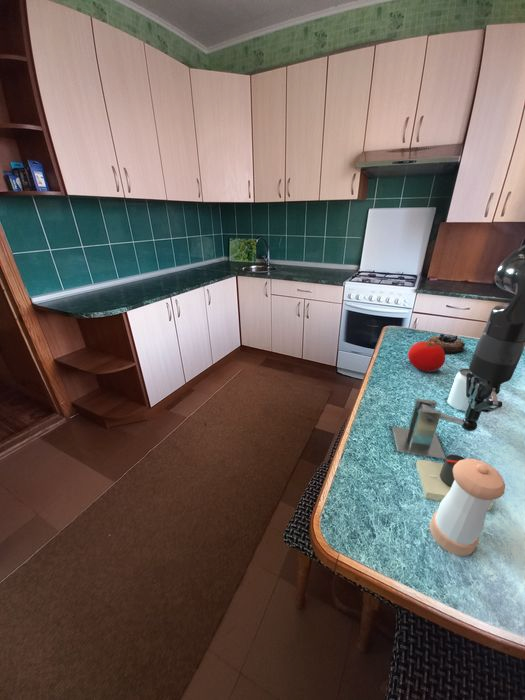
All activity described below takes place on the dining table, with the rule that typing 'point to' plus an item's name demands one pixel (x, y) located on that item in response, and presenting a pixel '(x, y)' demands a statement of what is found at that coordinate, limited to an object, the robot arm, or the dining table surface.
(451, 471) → the dial knob
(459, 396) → the can
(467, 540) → the pepper shaker
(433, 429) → the bracket
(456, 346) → the pastry
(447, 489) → the dial panel
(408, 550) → the dining table surface
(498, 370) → the robot arm
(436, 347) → the tomato
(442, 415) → the tap lever
